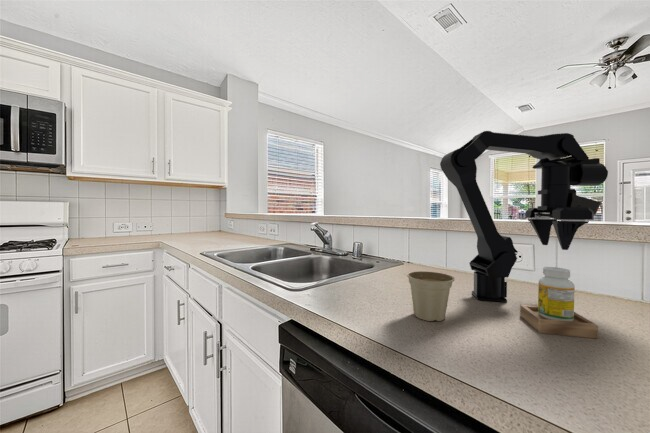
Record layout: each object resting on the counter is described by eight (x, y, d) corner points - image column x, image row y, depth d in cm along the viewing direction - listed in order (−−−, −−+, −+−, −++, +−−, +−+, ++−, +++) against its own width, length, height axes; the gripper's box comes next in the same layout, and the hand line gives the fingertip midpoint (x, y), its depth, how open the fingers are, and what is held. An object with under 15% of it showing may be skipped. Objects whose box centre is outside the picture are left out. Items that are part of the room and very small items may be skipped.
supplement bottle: (574, 326, 50) (575, 273, 49) (537, 318, 53) (538, 269, 53) (573, 317, 54) (574, 268, 54) (538, 310, 57) (539, 264, 57)
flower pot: (451, 311, 61) (451, 272, 61) (456, 328, 52) (457, 283, 52) (407, 306, 64) (407, 269, 64) (405, 321, 55) (405, 279, 55)
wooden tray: (540, 332, 50) (540, 320, 50) (520, 315, 59) (520, 304, 59) (597, 338, 48) (597, 325, 48) (568, 319, 56) (568, 308, 56)
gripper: (624, 181, 59) (622, 254, 59) (571, 188, 77) (570, 243, 77) (562, 182, 61) (560, 252, 62) (525, 188, 80) (524, 242, 80)
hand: (554, 247), depth 70 cm, fingers open, 9 cm apart
